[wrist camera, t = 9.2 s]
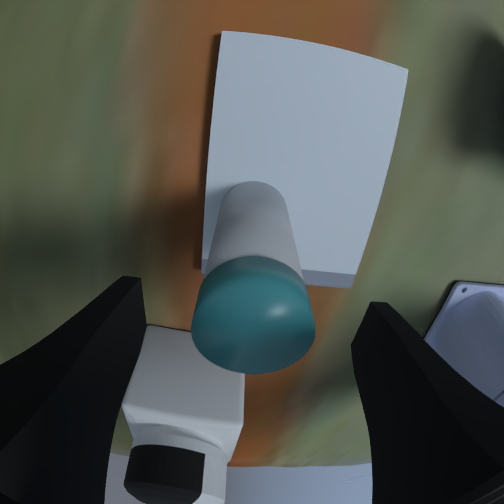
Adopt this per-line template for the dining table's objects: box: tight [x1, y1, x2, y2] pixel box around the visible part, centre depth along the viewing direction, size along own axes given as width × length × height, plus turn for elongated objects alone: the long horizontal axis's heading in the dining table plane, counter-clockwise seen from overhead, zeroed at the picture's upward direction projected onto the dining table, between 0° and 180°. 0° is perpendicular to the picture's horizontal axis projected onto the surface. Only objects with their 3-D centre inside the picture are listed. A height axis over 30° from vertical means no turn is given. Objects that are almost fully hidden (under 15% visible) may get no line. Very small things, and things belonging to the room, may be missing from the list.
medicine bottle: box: [122, 325, 245, 504], centre depth 18 cm, size 7×7×12 cm
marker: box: [191, 181, 315, 374], centre depth 12 cm, size 4×4×8 cm
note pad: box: [201, 31, 408, 288], centre depth 15 cm, size 9×13×1 cm
